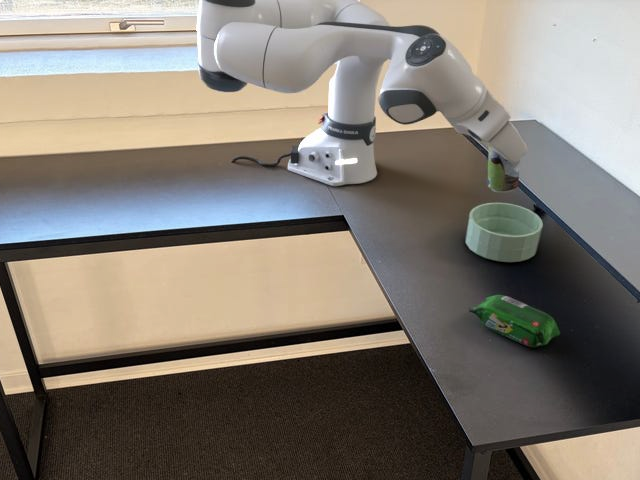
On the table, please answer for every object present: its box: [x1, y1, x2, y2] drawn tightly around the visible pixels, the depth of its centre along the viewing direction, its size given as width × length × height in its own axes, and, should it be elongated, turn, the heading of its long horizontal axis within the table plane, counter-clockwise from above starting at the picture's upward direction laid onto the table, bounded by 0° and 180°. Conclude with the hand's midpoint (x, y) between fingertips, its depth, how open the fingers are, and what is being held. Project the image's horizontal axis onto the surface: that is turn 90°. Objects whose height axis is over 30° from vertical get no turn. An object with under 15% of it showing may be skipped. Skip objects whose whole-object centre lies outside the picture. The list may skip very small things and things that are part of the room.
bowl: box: [465, 202, 544, 263], centre depth 155 cm, size 15×15×6 cm
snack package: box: [468, 294, 561, 348], centre depth 130 cm, size 7×16×5 cm, turn 52°
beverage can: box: [487, 128, 521, 194], centre depth 142 cm, size 6×7×12 cm
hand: (505, 153), depth 143 cm, fingers closed on beverage can, 5 cm apart
